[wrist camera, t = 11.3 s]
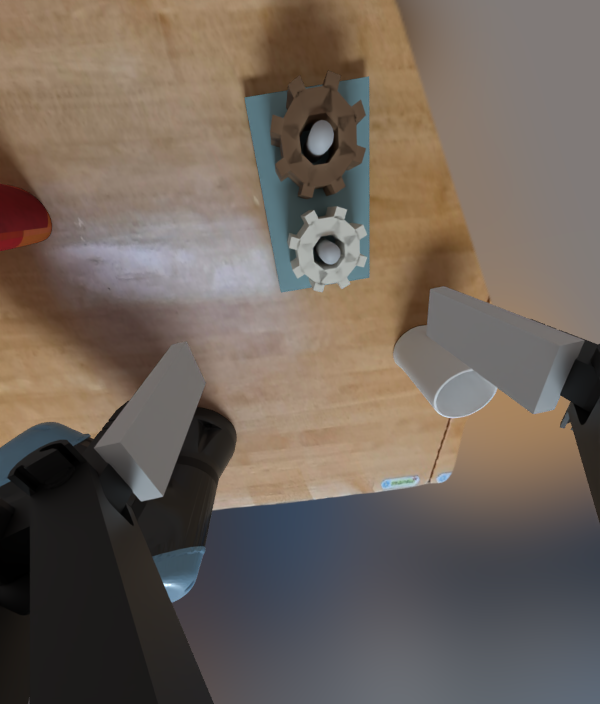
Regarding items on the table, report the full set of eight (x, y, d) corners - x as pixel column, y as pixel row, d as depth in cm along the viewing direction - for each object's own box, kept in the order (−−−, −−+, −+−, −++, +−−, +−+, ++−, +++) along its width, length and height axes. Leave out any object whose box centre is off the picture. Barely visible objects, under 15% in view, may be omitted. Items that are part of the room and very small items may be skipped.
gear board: (280, 289, 34) (281, 307, 28) (246, 103, 25) (235, 65, 18) (365, 275, 34) (386, 290, 28) (364, 83, 25) (395, 38, 18)
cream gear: (293, 285, 33) (296, 296, 28) (282, 214, 28) (283, 215, 24) (355, 274, 33) (367, 284, 28) (353, 202, 28) (367, 201, 24)
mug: (403, 305, 37) (452, 342, 27) (456, 304, 38) (525, 340, 27) (388, 370, 43) (424, 421, 33) (435, 368, 44) (484, 417, 33)
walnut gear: (280, 203, 28) (281, 202, 24) (264, 104, 24) (262, 81, 19) (352, 191, 28) (366, 188, 24) (349, 90, 24) (365, 63, 19)
